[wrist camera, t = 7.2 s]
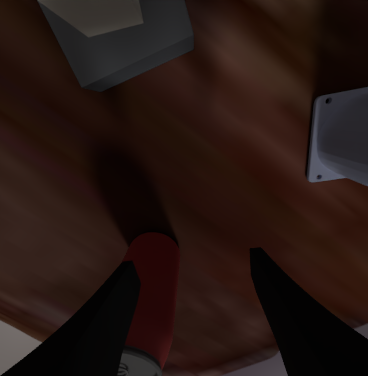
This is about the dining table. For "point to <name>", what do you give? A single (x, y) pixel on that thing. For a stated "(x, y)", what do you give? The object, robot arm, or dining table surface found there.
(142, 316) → the beer can
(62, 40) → the plate
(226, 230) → the dining table surface
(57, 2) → the cream block
